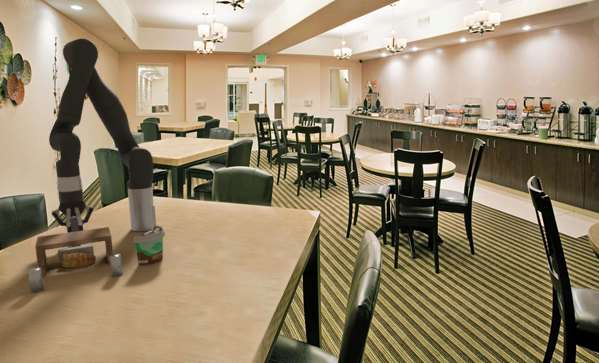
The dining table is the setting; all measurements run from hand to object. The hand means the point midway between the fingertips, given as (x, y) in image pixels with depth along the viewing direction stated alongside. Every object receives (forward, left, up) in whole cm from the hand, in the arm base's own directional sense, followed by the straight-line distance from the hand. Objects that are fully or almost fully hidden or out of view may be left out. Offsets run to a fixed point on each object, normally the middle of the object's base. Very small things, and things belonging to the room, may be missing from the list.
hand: (75, 235), depth 144 cm
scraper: (0, +7, -3) cm, 8 cm away
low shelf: (0, +21, -4) cm, 22 cm away
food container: (-22, +30, -4) cm, 37 cm away
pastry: (0, +20, -4) cm, 20 cm away
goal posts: (0, +36, -4) cm, 36 cm away
